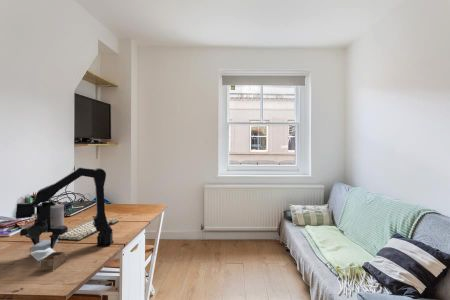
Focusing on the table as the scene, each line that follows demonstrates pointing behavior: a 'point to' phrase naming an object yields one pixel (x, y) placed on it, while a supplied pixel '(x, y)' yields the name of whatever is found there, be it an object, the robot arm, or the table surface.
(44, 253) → the external hard drive
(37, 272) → the table surface
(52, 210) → the pillar candle
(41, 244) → the lid
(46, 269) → the box
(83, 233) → the mechanical keyboard
